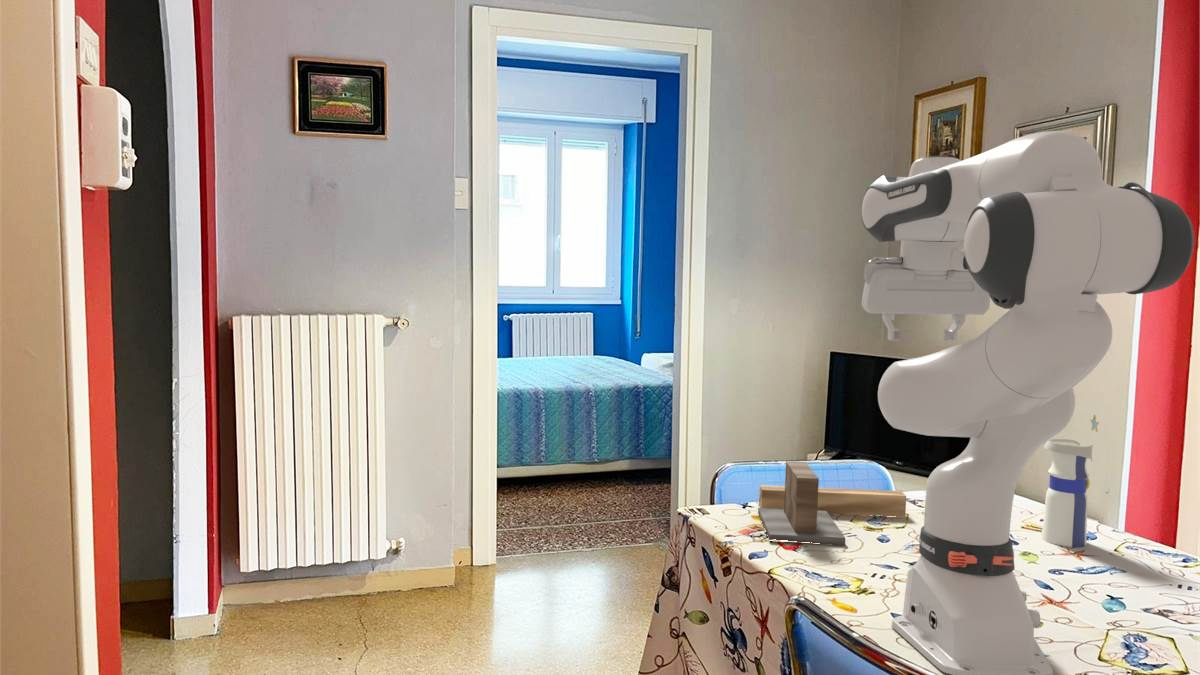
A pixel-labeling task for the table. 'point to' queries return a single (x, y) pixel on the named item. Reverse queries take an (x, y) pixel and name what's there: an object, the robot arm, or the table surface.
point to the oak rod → (843, 501)
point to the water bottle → (1067, 492)
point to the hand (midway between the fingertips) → (921, 340)
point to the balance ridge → (801, 511)
